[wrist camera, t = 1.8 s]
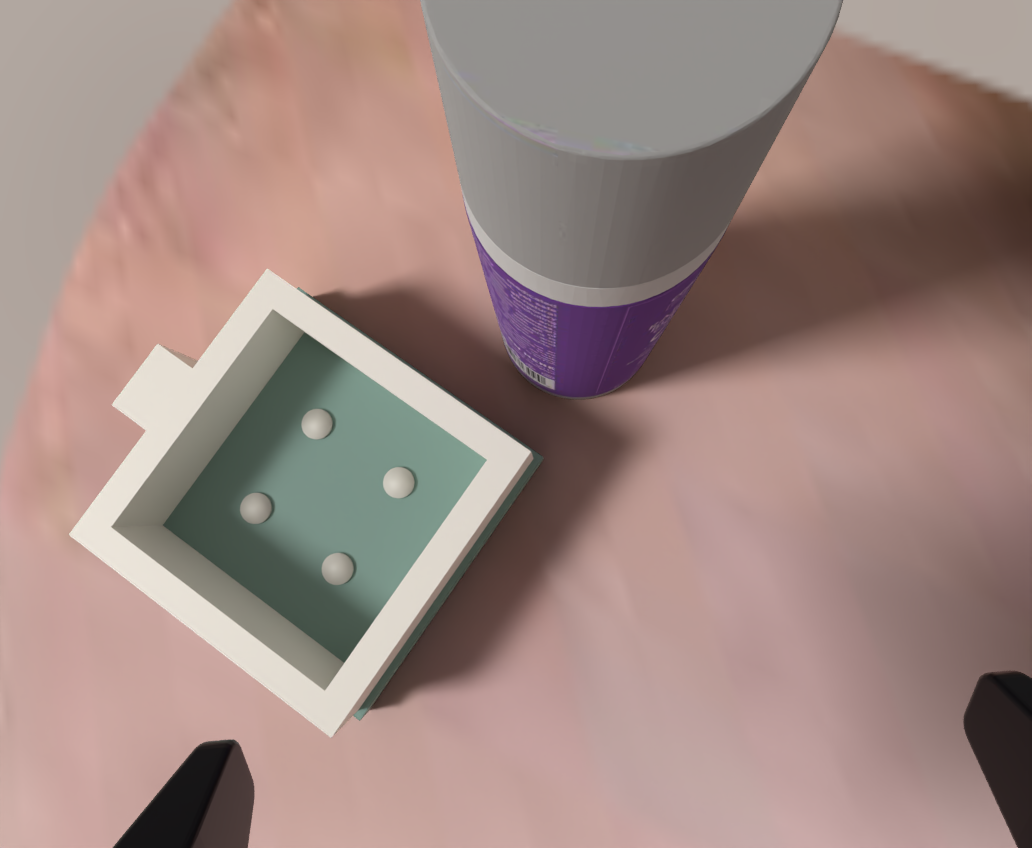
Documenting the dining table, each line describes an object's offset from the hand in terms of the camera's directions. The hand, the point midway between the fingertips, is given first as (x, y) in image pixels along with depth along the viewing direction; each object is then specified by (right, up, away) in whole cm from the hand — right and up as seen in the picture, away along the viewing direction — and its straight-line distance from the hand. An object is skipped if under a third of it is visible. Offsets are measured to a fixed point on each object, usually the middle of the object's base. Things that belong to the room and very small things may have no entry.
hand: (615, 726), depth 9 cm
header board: (-7, +1, +13) cm, 15 cm away
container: (+1, +7, +14) cm, 15 cm away
